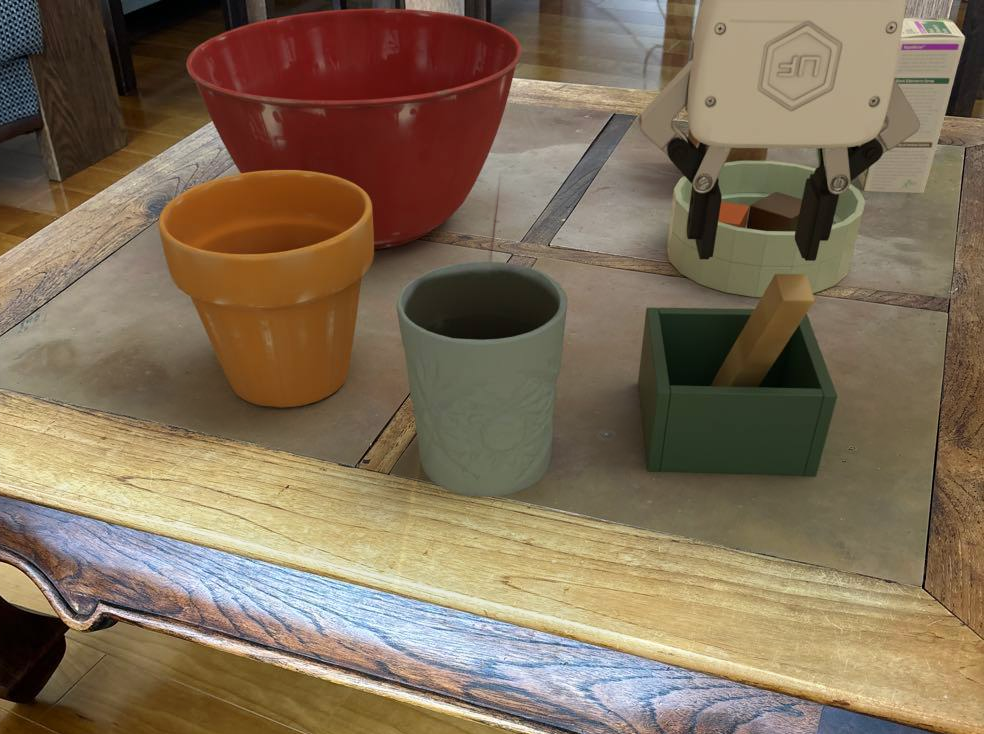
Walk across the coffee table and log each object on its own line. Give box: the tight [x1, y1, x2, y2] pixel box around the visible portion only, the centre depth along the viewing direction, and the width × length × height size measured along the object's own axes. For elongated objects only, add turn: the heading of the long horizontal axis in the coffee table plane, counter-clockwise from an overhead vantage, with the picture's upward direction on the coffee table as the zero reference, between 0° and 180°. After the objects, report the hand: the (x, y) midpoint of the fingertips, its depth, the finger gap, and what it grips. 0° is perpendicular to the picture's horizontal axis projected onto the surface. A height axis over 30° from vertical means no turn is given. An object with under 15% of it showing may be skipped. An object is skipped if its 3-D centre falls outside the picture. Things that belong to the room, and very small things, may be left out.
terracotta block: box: [718, 202, 749, 228], centre depth 87 cm, size 4×4×4 cm
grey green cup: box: [395, 261, 568, 498], centre depth 64 cm, size 10×10×12 cm
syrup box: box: [857, 17, 966, 194], centre depth 95 cm, size 6×6×14 cm
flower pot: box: [157, 170, 375, 408], centre depth 72 cm, size 14×14×13 cm
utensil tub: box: [637, 307, 838, 478], centre depth 67 cm, size 11×11×7 cm
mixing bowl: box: [185, 8, 523, 250], centre depth 92 cm, size 28×28×15 cm
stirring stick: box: [710, 274, 816, 387], centre depth 65 cm, size 2×2×12 cm
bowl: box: [666, 160, 866, 298], centre depth 87 cm, size 15×15×6 cm
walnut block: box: [747, 192, 802, 232], centre depth 88 cm, size 4×4×4 cm
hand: (754, 247), depth 61 cm, fingers open, 5 cm apart
